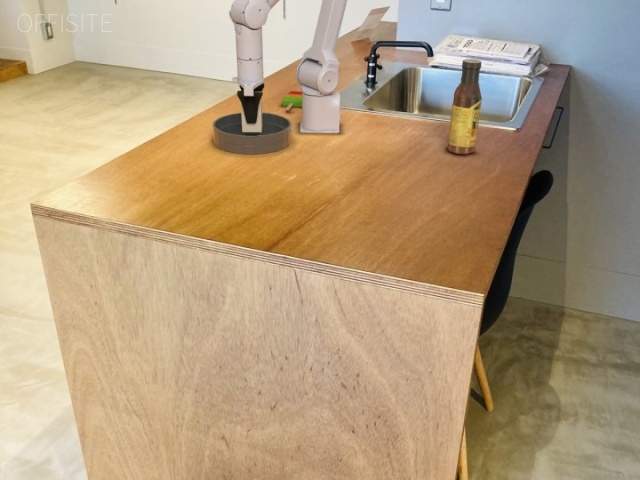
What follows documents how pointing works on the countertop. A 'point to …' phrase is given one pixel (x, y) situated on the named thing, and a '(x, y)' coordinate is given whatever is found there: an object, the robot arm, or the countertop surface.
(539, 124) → the countertop surface
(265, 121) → the steel cake pan
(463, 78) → the sauce bottle
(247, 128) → the cream block
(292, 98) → the popsicle
